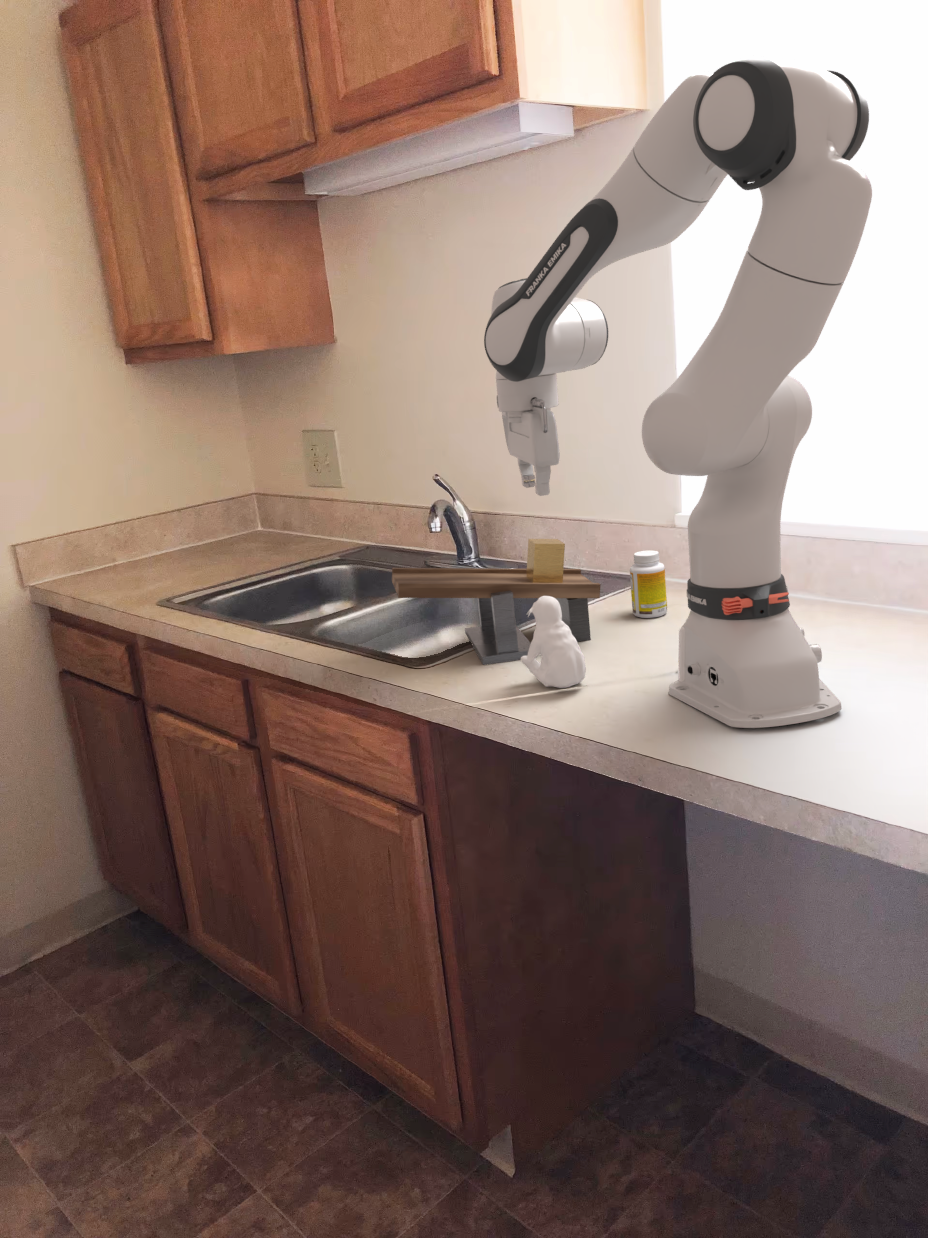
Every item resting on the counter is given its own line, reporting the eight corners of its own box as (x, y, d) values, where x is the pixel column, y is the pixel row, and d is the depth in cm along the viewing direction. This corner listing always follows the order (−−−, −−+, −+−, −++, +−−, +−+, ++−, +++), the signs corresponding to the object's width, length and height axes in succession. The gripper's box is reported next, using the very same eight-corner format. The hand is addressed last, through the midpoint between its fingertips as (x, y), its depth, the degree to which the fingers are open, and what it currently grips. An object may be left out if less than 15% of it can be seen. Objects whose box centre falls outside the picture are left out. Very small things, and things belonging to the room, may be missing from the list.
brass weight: (562, 583, 152) (564, 543, 150) (532, 583, 151) (534, 543, 150) (555, 577, 156) (557, 538, 155) (526, 576, 156) (528, 538, 154)
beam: (599, 604, 150) (600, 584, 149) (398, 603, 145) (398, 583, 144) (578, 587, 161) (579, 568, 160) (391, 586, 157) (392, 567, 156)
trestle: (598, 647, 149) (593, 582, 146) (483, 665, 147) (475, 599, 144) (570, 620, 165) (565, 560, 162) (465, 635, 163) (458, 575, 160)
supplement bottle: (674, 613, 162) (671, 551, 159) (647, 621, 159) (643, 558, 157) (652, 607, 167) (648, 547, 164) (625, 615, 164) (621, 554, 162)
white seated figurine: (562, 696, 130) (554, 607, 127) (520, 683, 137) (511, 598, 134) (597, 683, 134) (590, 596, 131) (555, 671, 140) (547, 588, 137)
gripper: (566, 396, 137) (573, 497, 141) (533, 392, 157) (541, 480, 160) (521, 402, 136) (530, 502, 140) (494, 396, 156) (502, 485, 160)
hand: (535, 490), depth 150 cm, fingers open, 8 cm apart
